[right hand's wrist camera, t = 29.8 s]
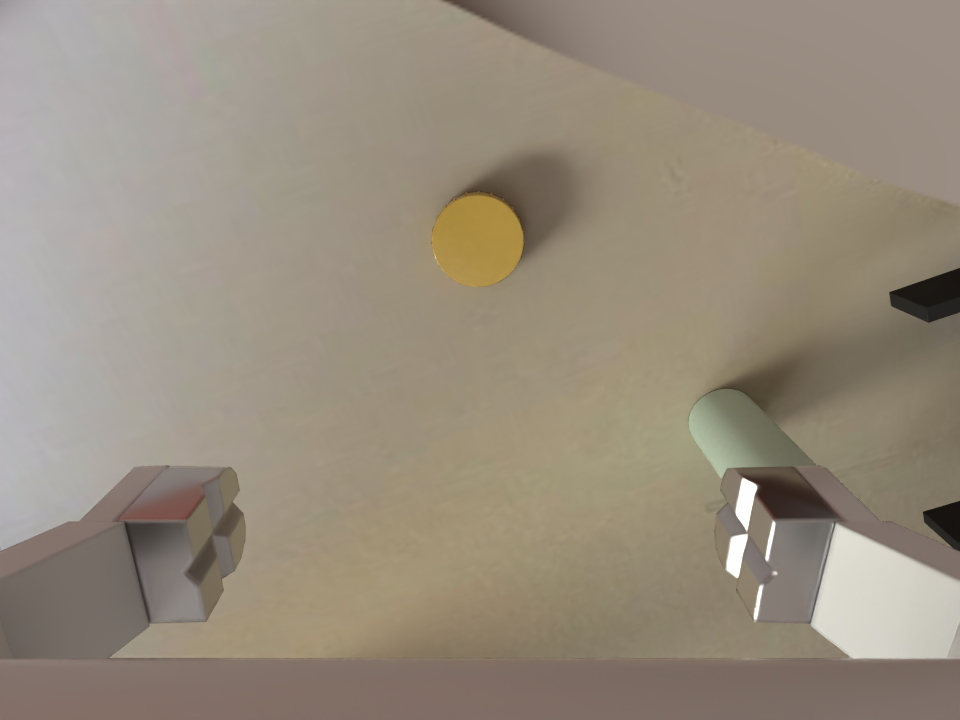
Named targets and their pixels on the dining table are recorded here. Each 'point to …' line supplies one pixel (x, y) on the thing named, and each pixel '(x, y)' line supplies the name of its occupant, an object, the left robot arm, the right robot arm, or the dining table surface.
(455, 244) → the lid
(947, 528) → the left robot arm
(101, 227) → the dining table surface
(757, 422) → the green bottle
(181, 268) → the dining table surface
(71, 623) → the right robot arm
